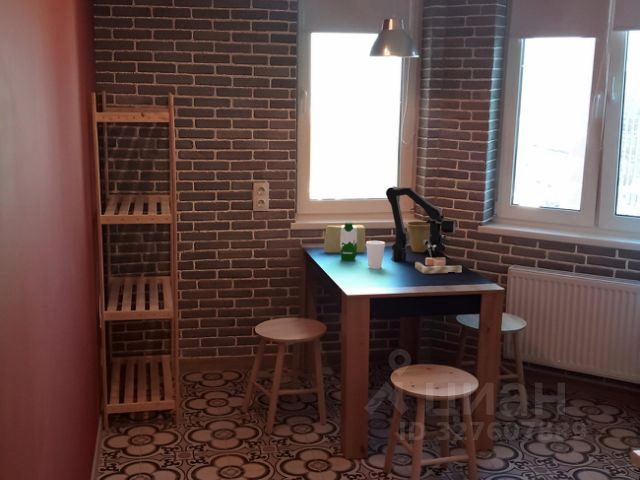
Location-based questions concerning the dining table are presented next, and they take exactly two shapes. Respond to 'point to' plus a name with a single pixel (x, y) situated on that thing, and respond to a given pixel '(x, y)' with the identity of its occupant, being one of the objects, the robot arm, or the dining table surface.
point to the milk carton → (348, 242)
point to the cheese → (334, 239)
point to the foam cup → (375, 253)
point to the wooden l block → (437, 268)
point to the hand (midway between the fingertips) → (433, 261)
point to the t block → (435, 261)
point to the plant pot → (418, 235)
